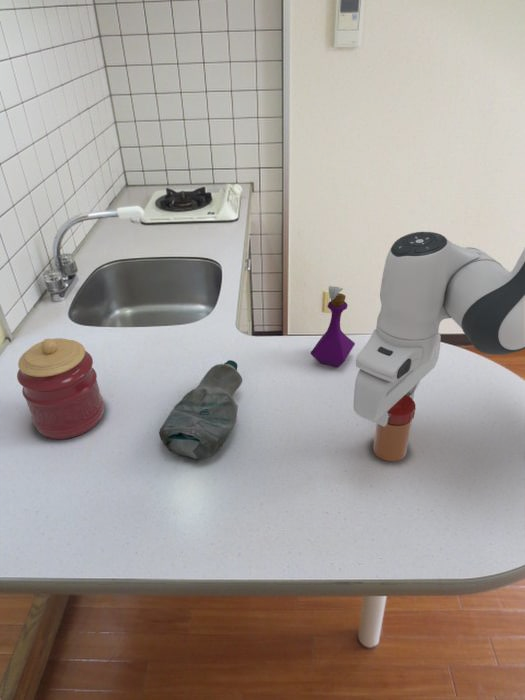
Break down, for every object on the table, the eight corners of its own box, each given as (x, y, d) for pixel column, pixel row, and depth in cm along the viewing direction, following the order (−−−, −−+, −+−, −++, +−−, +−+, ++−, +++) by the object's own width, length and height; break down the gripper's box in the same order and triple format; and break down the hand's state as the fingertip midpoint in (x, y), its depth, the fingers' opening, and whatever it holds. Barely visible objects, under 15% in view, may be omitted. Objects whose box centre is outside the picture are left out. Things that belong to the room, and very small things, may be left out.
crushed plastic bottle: (218, 472, 88) (266, 382, 107) (211, 440, 84) (262, 353, 103) (150, 459, 92) (208, 375, 111) (140, 429, 88) (202, 347, 107)
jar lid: (380, 425, 84) (381, 416, 83) (373, 401, 89) (374, 392, 88) (418, 424, 84) (420, 415, 83) (409, 400, 89) (410, 391, 88)
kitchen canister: (100, 389, 108) (81, 314, 98) (110, 428, 98) (90, 350, 88) (33, 406, 104) (6, 330, 94) (36, 449, 94) (7, 369, 84)
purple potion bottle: (322, 348, 118) (325, 275, 108) (354, 355, 115) (360, 281, 105) (309, 365, 112) (311, 290, 102) (343, 374, 109) (348, 297, 99)
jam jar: (401, 437, 93) (407, 395, 88) (410, 460, 89) (418, 417, 83) (370, 439, 93) (374, 397, 88) (377, 462, 89) (383, 419, 83)
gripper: (419, 308, 87) (409, 375, 94) (348, 362, 74) (343, 435, 82) (456, 320, 83) (441, 389, 91) (387, 380, 71) (378, 454, 78)
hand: (394, 411), depth 86 cm, fingers closed on jar lid, 6 cm apart
